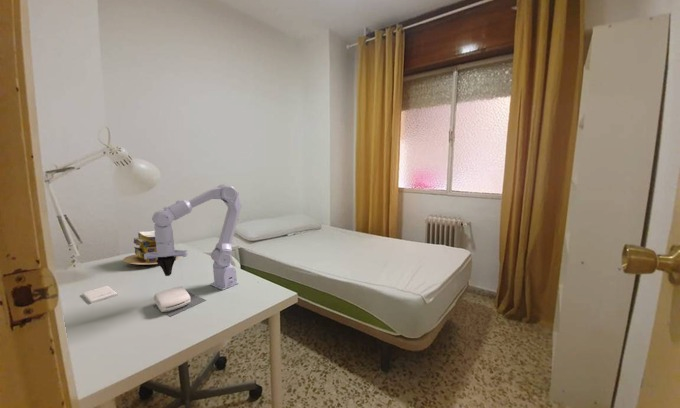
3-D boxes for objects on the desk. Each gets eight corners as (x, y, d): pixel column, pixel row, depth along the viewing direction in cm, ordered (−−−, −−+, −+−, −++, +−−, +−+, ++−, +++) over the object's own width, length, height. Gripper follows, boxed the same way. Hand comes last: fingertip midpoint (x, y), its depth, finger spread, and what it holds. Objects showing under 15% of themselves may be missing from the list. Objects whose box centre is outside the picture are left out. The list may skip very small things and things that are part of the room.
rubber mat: (206, 300, 102) (206, 299, 102) (170, 316, 91) (170, 316, 91) (188, 292, 109) (188, 291, 109) (153, 306, 98) (153, 305, 98)
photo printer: (183, 284, 106) (192, 294, 98) (184, 294, 107) (193, 305, 98) (152, 292, 99) (159, 304, 91) (153, 303, 100) (160, 316, 91)
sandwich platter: (174, 251, 163) (171, 225, 161) (181, 261, 144) (178, 232, 142) (123, 260, 148) (119, 231, 145) (124, 273, 129) (120, 241, 126)
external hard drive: (108, 288, 114) (118, 296, 107) (82, 296, 108) (91, 305, 101) (107, 285, 114) (117, 292, 107) (82, 292, 107) (90, 301, 100)
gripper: (189, 237, 106) (192, 269, 108) (149, 239, 103) (153, 272, 105) (182, 242, 99) (185, 276, 101) (139, 244, 96) (143, 279, 98)
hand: (168, 274), depth 103 cm, fingers closed
